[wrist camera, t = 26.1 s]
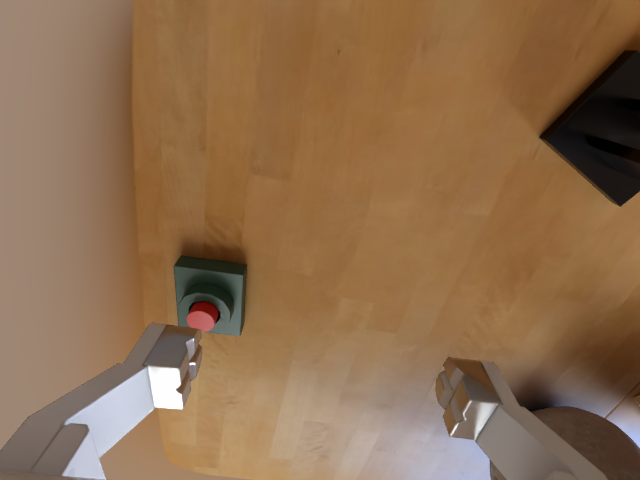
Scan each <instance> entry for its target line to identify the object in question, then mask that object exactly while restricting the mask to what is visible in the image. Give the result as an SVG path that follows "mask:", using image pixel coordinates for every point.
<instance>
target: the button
mask: <svg viewBox="0 0 640 480" xmlns="http://www.w3.org/2000/svg"><path fill="white" fill-rule="evenodd" d="M218 315H219V311H218V309H217V307H216V306H215V305H213V304H212V303H210V302H206V301H199V302H197V303H195V304H194V305H193V306H192V308H191V310H190V312H189V314H188V316H187V323H188V325H189V326H190V327H191V328H196V329H200V330H201V332H206V331H209V330H211V329H212V328H213V327H214V325H215V323H216V320H217V318H218Z"/></svg>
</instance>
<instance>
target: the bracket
mask: <svg viewBox="0 0 640 480" xmlns="http://www.w3.org/2000/svg"><path fill="white" fill-rule="evenodd" d="M539 138H540V139H541V140H542V141H543V142H544V143H545V144H547V145H548V146H549V147H550V148H551V149H552V150H553V151H555V152H556V153H557V154H558V155H559V156H560V157H561V158H562V159H564V160H565V161H566V162H567V163H568V164H569V165H570V166H571V167H573V168H574V169H575V170H576V171H577V172H578V173H579V174H580V175H582V176H583V177H584V178H585V179H586V180H587V181H588V182H589V183H591V184H592V185H593V186H594V187H595V188H596V189H597V190H598V191H600V192H601V193H602V194H603V195H604V196H605V197H606V198H607V199H609V200H610V201H611V202H612V203H614V204H616V205H618V206H620V207H621V206H622V205H623V204H624V203H626V202H627V201H628V200H629V199H631V198H632V197H633V196H634V195H636V194H637V193H638V192H639V191H640V53H639V52H638V51H637V50H626V51H624V52H623V53H622V54H621V55H620V56H619V57H618V58H617V59H616V60H615V61H614V62H613V63H612V64H611V65H610V66H609V67H608V68H607V69H606V70H605V71H604V72H603V74H602V75H601V76H600V77H599V78H598V79H597V80H596V81H595V82H594V83H593V84H592V85H591V86H590V87H589V88H588V89H587V90H586V91H585V92H584V93H583V94H582V95H581V96H580V97H579V98H578V99H577V100H576V101H575V102H574V103H573V104H572V105H571V106H570V107H569V108H568V109H567V110H566V111H565V112H564V113H563V114H562V115H561V116H560V117H559V118H558V119H557V120H556V121H555V122H554V123H553V124H552V125H551V126H550V127H549V128H548V129H547V130H546V131H545V132H544V133H543V134H542V135H541V136H540V137H539Z"/></svg>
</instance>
